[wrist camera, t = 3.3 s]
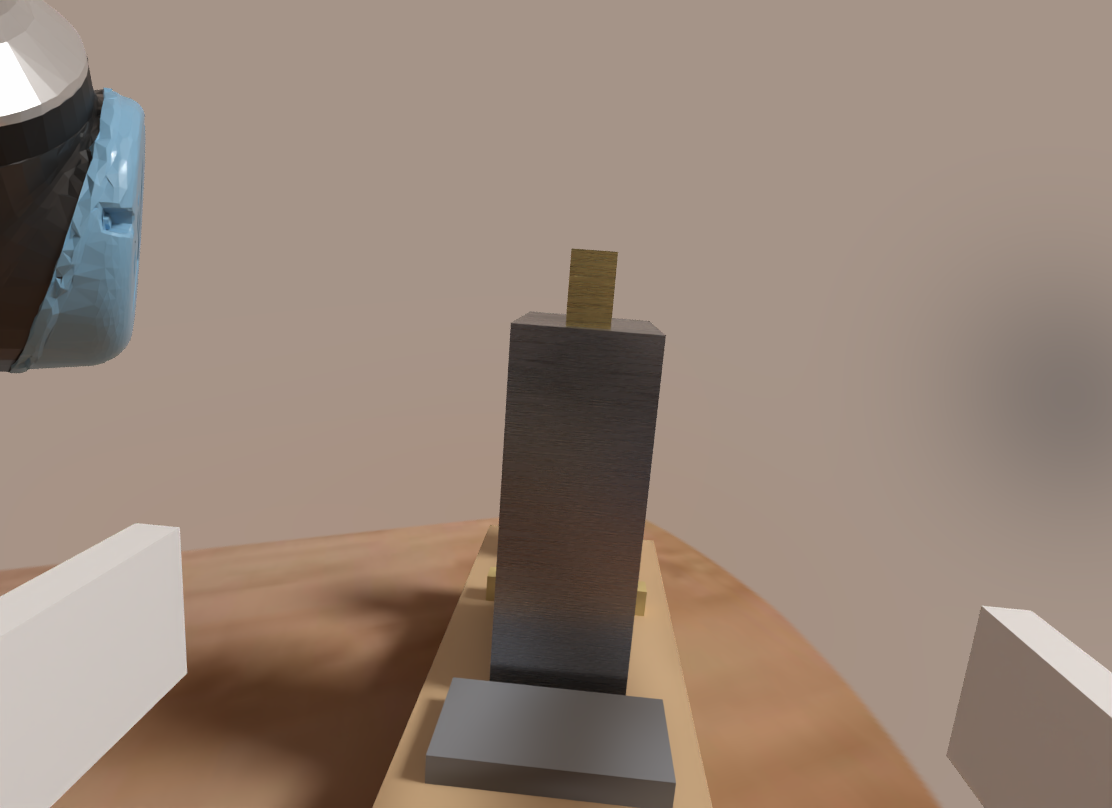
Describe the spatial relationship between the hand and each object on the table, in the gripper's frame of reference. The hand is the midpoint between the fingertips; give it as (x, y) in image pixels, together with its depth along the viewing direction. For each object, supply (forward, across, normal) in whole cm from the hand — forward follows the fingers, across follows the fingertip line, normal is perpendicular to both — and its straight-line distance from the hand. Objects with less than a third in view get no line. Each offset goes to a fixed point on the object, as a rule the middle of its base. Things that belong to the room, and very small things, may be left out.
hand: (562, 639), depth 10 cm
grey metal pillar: (+10, 0, -6) cm, 12 cm away
